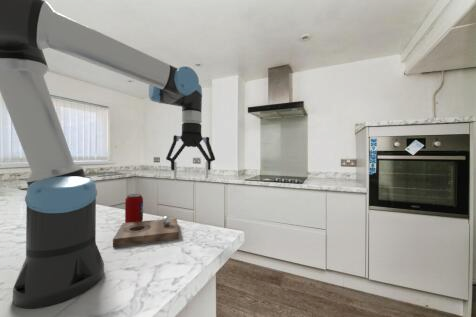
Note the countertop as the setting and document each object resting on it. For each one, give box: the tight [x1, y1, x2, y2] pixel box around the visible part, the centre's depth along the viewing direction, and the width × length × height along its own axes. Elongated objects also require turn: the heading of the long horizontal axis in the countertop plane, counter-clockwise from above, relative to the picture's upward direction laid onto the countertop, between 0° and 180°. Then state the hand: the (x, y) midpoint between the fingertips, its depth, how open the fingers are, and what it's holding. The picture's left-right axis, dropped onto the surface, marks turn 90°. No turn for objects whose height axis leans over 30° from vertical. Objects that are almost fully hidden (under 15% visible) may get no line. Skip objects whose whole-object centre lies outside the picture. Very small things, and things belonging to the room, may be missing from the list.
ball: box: [161, 215, 172, 226], centre depth 76 cm, size 4×4×4 cm
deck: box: [112, 217, 180, 248], centre depth 74 cm, size 20×16×2 cm
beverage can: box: [124, 193, 144, 223], centre depth 85 cm, size 7×7×12 cm
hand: (191, 178), depth 79 cm, fingers open, 11 cm apart
